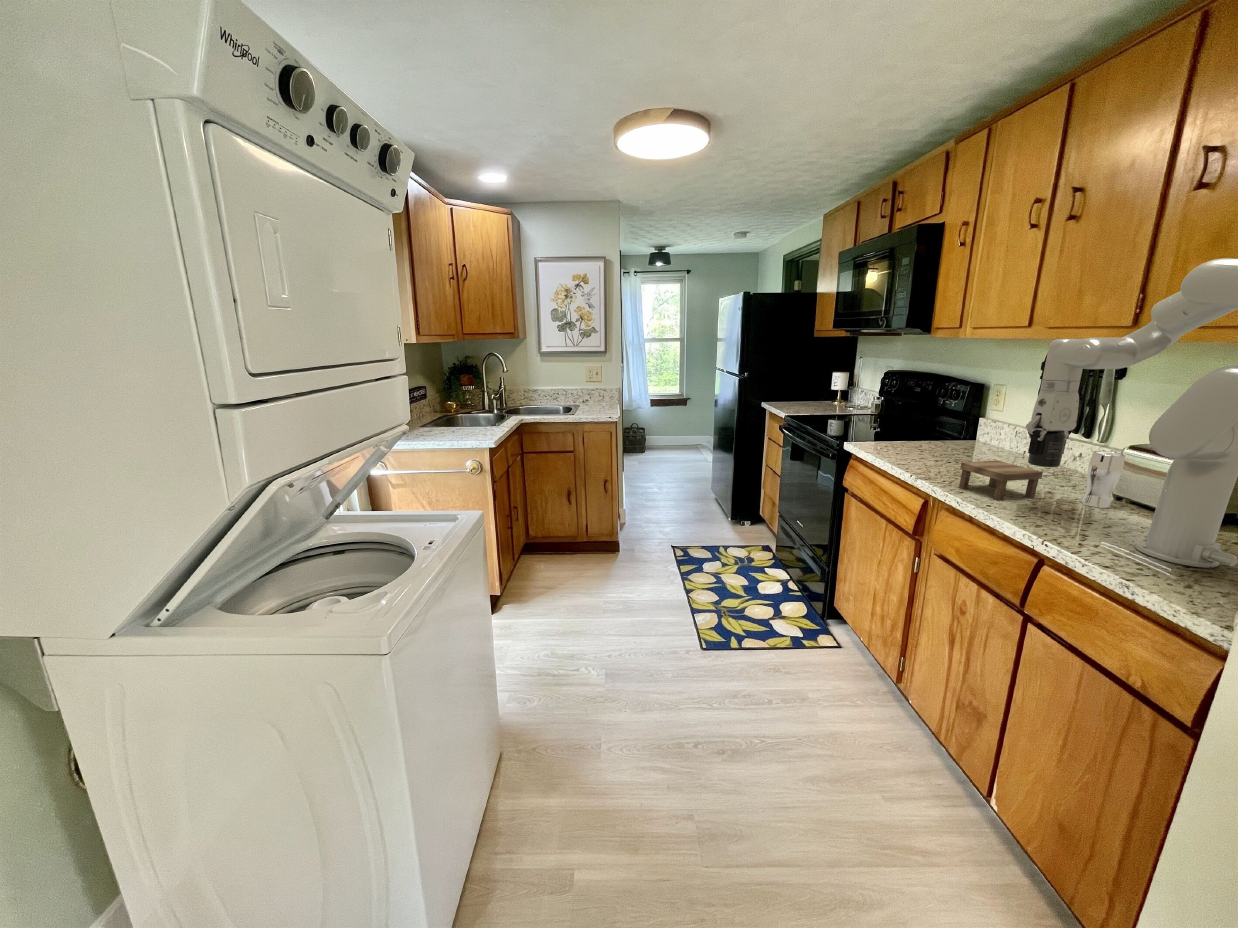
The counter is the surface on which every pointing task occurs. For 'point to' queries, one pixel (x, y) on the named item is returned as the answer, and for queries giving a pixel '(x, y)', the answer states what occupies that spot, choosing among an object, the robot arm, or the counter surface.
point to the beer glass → (1102, 478)
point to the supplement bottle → (1050, 450)
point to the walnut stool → (1000, 476)
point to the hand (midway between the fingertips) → (1045, 453)
